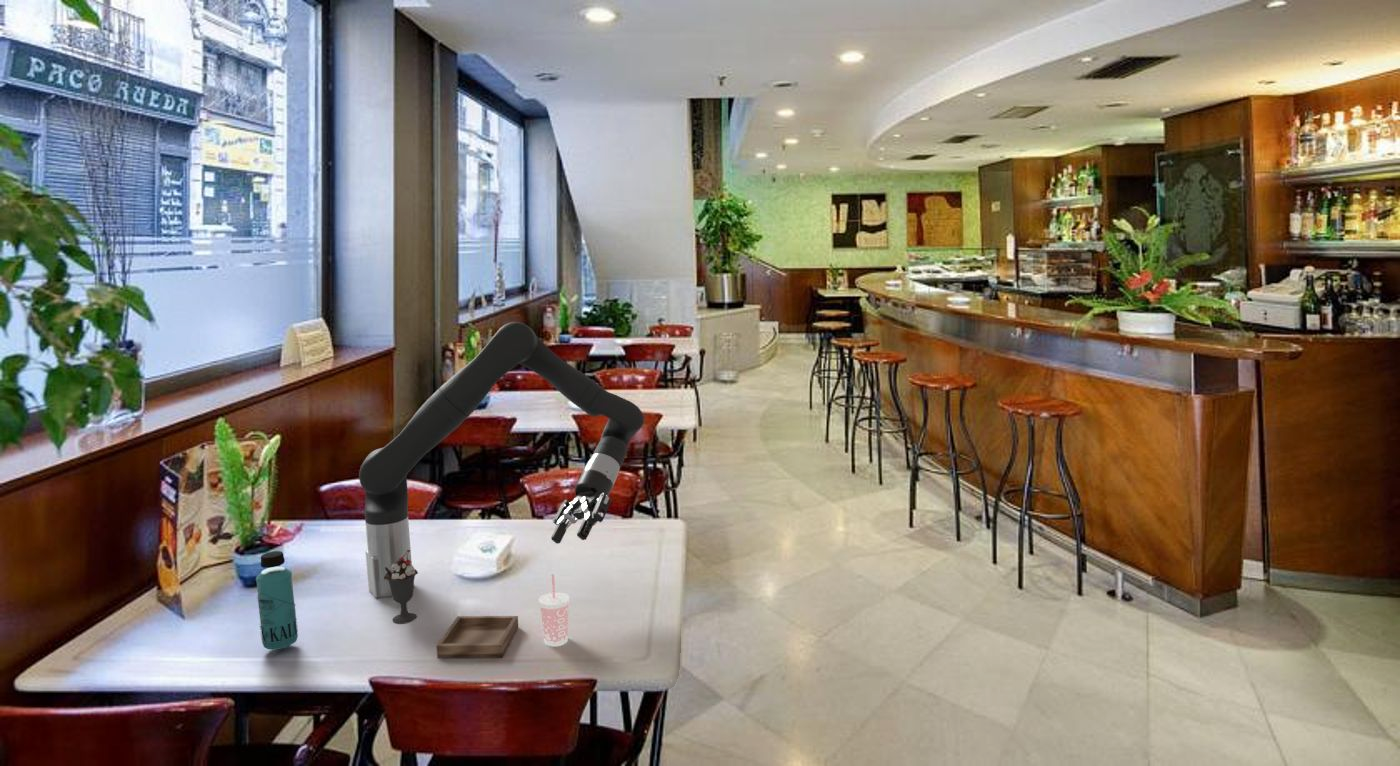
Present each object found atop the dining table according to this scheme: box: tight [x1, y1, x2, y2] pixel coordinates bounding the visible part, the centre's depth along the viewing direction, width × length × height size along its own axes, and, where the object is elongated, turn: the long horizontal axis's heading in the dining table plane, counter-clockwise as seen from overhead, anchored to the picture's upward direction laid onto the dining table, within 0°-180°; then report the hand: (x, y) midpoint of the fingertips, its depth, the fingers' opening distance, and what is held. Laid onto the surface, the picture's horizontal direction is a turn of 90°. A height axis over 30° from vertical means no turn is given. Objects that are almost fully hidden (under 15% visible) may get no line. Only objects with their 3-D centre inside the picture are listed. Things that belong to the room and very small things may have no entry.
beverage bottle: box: [255, 550, 299, 650], centre depth 156 cm, size 6×7×20 cm
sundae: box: [384, 550, 419, 624], centre depth 169 cm, size 7×7×15 cm
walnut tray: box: [436, 615, 519, 659], centre depth 159 cm, size 13×13×3 cm
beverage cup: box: [538, 574, 571, 647], centre depth 158 cm, size 6×6×14 cm
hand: (567, 539), depth 168 cm, fingers open, 8 cm apart
